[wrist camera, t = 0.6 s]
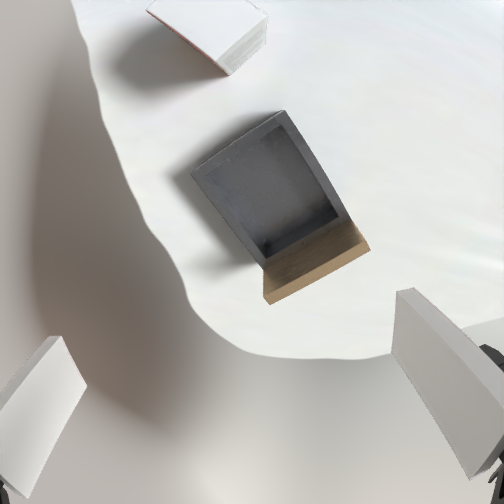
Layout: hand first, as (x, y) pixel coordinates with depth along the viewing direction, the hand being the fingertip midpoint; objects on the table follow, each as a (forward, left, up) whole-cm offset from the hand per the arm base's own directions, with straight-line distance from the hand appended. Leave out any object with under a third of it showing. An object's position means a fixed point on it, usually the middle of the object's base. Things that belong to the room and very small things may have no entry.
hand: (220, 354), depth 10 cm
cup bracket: (-2, +2, -25) cm, 25 cm away
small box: (-7, -15, -25) cm, 30 cm away
